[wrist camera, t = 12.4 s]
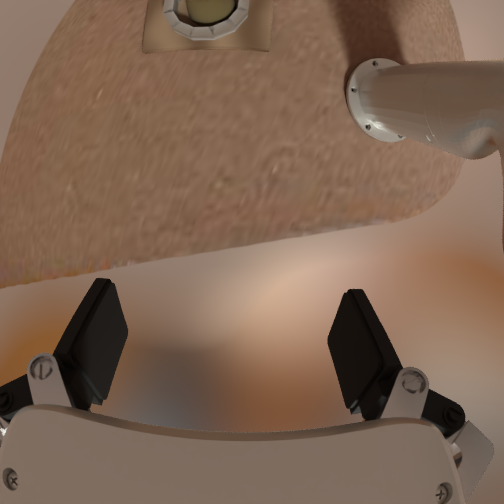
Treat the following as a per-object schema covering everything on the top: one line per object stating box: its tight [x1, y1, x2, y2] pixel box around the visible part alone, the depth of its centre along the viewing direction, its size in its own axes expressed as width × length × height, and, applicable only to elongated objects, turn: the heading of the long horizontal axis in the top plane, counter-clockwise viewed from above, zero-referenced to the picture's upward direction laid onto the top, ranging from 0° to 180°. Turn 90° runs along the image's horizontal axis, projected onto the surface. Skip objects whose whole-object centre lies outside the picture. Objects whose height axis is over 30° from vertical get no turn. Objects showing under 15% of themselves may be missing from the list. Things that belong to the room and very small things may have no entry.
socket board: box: [142, 0, 274, 54], centre depth 22 cm, size 16×12×4 cm
